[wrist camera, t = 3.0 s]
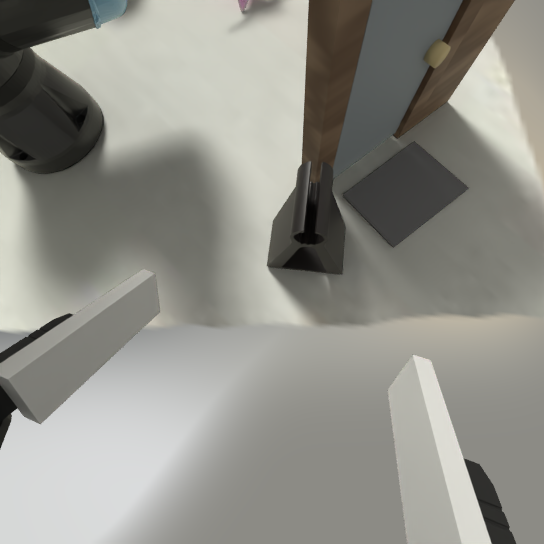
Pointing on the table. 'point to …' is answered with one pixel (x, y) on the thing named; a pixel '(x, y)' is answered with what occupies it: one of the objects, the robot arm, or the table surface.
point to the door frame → (344, 57)
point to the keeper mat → (404, 193)
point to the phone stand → (309, 226)
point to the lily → (242, 4)
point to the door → (391, 70)
